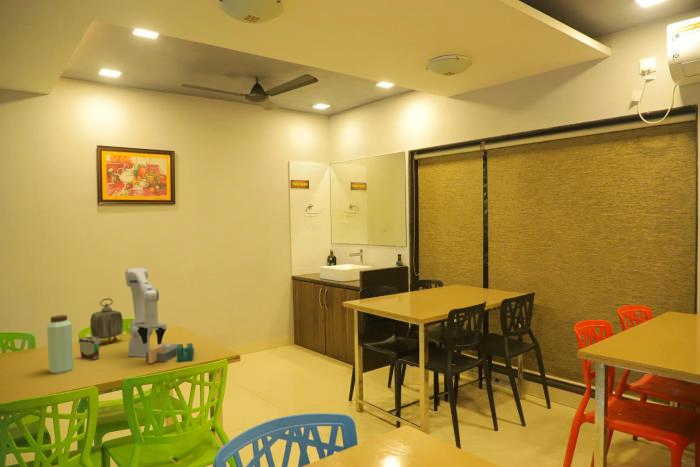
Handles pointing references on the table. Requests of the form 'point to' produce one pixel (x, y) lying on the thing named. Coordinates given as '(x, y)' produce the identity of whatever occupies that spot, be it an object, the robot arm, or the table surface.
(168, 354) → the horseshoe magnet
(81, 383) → the table surface
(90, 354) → the food container
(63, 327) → the water bottle
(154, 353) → the orange wooden slat
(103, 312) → the tabletop clock
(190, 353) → the bracket
